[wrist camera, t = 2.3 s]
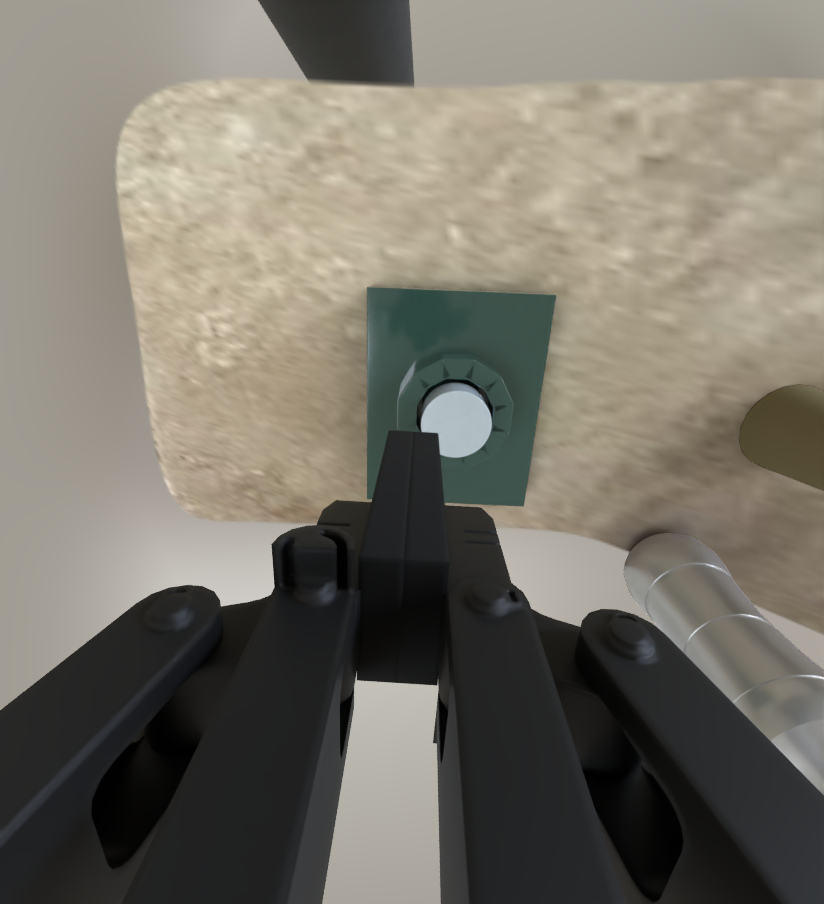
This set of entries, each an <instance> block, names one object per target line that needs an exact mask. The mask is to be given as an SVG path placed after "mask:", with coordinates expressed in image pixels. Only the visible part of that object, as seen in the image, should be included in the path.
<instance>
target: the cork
mask: <svg viewBox="0 0 824 904" xmlns="http://www.w3.org/2000/svg"><path fill="white" fill-rule="evenodd" d="M739 442H740V445H741V449H742V452H743V453H744V455H745V456H746V457H747V458H748V459H749V461H751V462H753V463H755V464H757V465H759V466H761V467H764V468H766V469H769V470H771V471H774V472H776V473H779V474H782V475H784V476H787V477H789V478H792V479H794V480H797V481H800V482H802V483H805V484H807V485H810V486H812V487H815V488H818V489H820V490H823V491H824V391H822V390H820V389H818V388H816V387H814V386H807V385H800V384H799V385H793V386H787V387H783V388H781V389H778V390H776V391H774V392H772V393H769V394H768V395H767V396H765V397H764V398H763V399H761V400H760V401H759V402H757V403H756V404H755V406H754V407H753V408H752V409H751V410H750V412H749V413H748V414H747V415H746V417H745V420H744V422H743V424H742V426H741V429H740V439H739Z"/></svg>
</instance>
